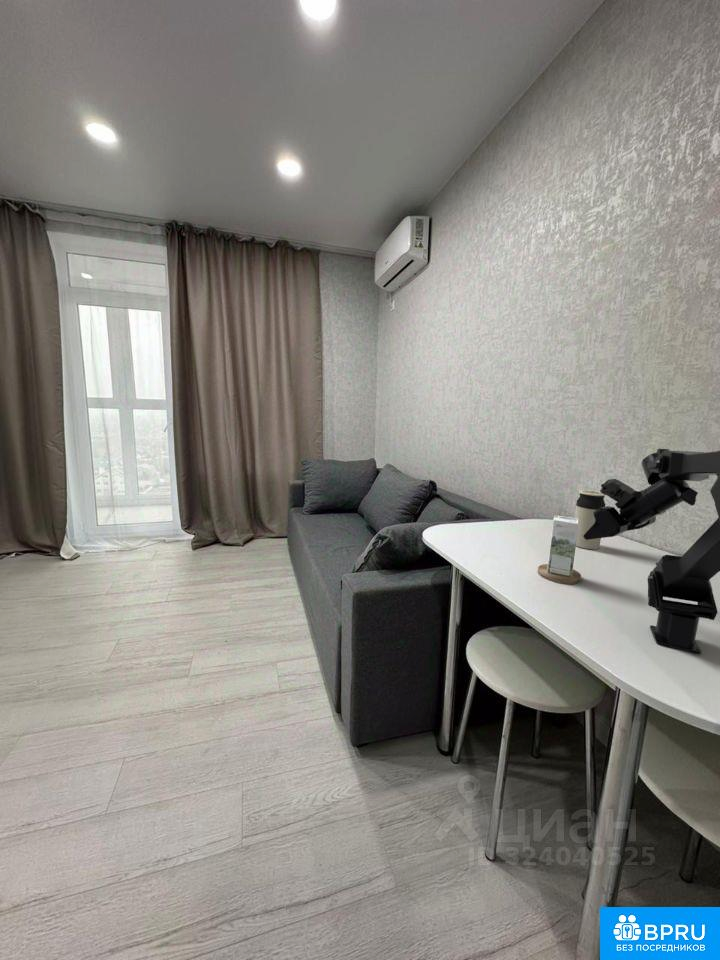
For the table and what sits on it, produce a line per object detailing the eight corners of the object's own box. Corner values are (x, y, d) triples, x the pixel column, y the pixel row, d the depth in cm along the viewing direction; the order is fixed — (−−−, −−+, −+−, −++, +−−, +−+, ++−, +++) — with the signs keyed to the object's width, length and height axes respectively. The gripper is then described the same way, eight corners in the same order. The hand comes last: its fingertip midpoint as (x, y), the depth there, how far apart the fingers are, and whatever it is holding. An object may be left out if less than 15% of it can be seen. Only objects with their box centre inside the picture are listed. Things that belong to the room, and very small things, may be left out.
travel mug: (594, 551, 120) (602, 495, 117) (567, 545, 125) (574, 491, 122) (602, 546, 125) (610, 492, 122) (576, 540, 131) (582, 488, 128)
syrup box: (571, 570, 101) (578, 517, 98) (571, 578, 96) (579, 522, 93) (547, 565, 104) (553, 514, 101) (546, 573, 98) (553, 519, 96)
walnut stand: (581, 587, 93) (581, 582, 93) (536, 578, 98) (537, 573, 98) (579, 573, 102) (580, 568, 102) (538, 565, 107) (539, 561, 107)
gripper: (647, 467, 89) (592, 503, 100) (609, 471, 79) (552, 511, 90) (683, 506, 84) (621, 540, 95) (647, 516, 74) (582, 553, 85)
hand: (594, 535), depth 92 cm, fingers open, 9 cm apart
